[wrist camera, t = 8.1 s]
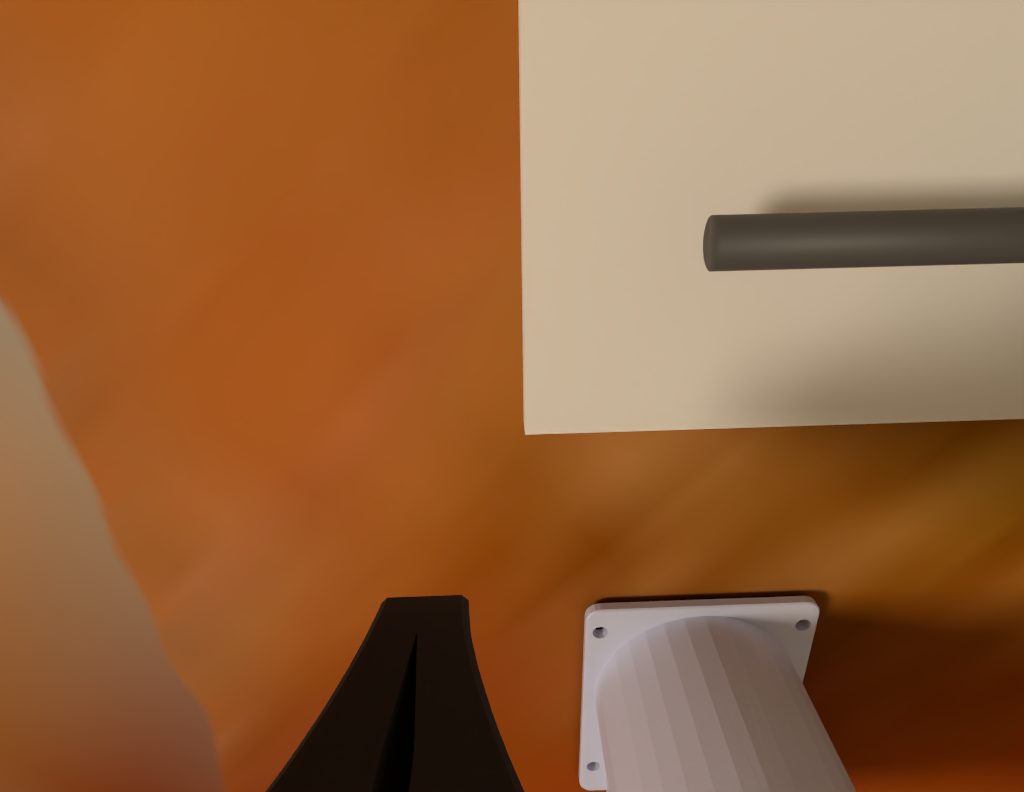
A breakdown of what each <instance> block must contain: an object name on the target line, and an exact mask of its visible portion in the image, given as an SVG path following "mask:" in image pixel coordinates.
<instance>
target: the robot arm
mask: <svg viewBox="0 0 1024 792" xmlns="http://www.w3.org/2000/svg"><path fill="white" fill-rule="evenodd" d="M819 613H820V610H819V607H818V605H817V604H816V602H815V600H814V599H813V598H811V597H809V596H787V597H759V598H731V599H704V600H676V601H648V602H620V603H598V604H594V605H592V606H590V607H589V608H588V609H587V610H586V612H585V623H584V649H583V676H582V702H581V729H580V755H579V781H580V785H581V786H582V787H583V788H584V789H587V790H606V791H607V792H856V790H855V788H854V786H853V784H852V782H851V780H850V778H849V776H848V774H847V772H846V770H845V768H844V766H843V764H842V762H841V760H840V758H839V756H838V754H837V752H836V750H835V748H834V746H833V744H832V742H831V740H830V738H829V736H828V734H827V732H826V730H825V728H824V726H823V724H822V722H821V720H820V717H819V715H818V713H817V711H816V709H815V707H814V705H813V703H812V701H811V699H810V697H809V695H808V693H807V691H806V689H805V687H804V685H803V679H804V675H805V671H806V667H807V663H808V659H809V655H810V650H811V646H812V642H813V638H814V634H815V630H816V625H817V621H818V617H819ZM800 620H803V621H801V622H799V621H800ZM598 627H604V628H603V629H600V630H596V628H598ZM266 792H524V790H523V788H522V786H521V784H520V781H519V779H518V777H517V774H516V772H515V770H514V767H513V765H512V763H511V760H510V758H509V756H508V753H507V750H506V748H505V745H504V743H503V740H502V738H501V735H500V733H499V730H498V727H497V725H496V722H495V719H494V716H493V713H492V711H491V708H490V704H489V701H488V698H487V695H486V692H485V689H484V685H483V682H482V679H481V676H480V672H479V669H478V665H477V661H476V657H475V652H474V648H473V643H472V638H471V633H470V617H469V601H468V600H467V599H466V598H465V597H463V596H462V595H451V596H423V597H395V598H387V599H386V600H385V601H384V602H382V603H381V606H380V608H379V610H378V612H377V615H376V617H375V619H374V621H373V623H372V625H371V627H370V629H369V631H368V633H367V635H366V637H365V639H364V641H363V643H362V644H361V646H360V648H359V650H358V652H357V654H356V655H355V657H354V659H353V661H352V663H351V664H350V666H349V668H348V670H347V671H346V673H345V675H344V676H343V678H342V680H341V681H340V683H339V685H338V686H337V688H336V690H335V691H334V693H333V694H332V696H331V698H330V699H329V701H328V703H327V704H326V706H325V708H324V709H323V711H322V712H321V714H320V715H319V717H318V718H317V720H316V721H315V723H314V724H313V726H312V727H311V729H310V730H309V732H308V733H307V735H306V736H305V738H304V739H303V741H302V742H301V743H300V745H299V746H298V748H297V749H296V751H295V752H294V754H293V755H292V757H291V758H290V760H289V761H288V762H287V764H286V765H285V767H284V768H283V769H282V771H281V772H280V773H279V775H278V776H277V777H276V779H275V780H274V782H273V783H272V784H271V785H270V787H269V788H268V789H267V791H266Z"/></svg>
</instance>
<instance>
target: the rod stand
mask: <svg viewBox="0 0 1024 792" xmlns="http://www.w3.org/2000/svg"><path fill="white" fill-rule="evenodd" d="M518 15H519V92H520V169H521V246H522V323H523V400H524V429H525V435H529V434H560V433H592V432H624V431H656V430H688V429H719V428H751V427H783V426H815V425H846V424H878V423H910V422H942V421H973V420H1005V419H1024V0H518Z"/></svg>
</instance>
